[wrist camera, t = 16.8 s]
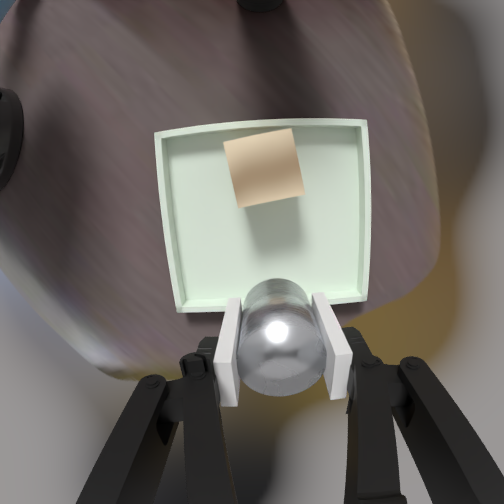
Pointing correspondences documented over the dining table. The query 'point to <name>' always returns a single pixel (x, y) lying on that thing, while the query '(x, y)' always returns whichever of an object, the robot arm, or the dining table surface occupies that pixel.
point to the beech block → (264, 167)
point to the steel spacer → (279, 340)
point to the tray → (266, 214)
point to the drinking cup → (259, 5)
